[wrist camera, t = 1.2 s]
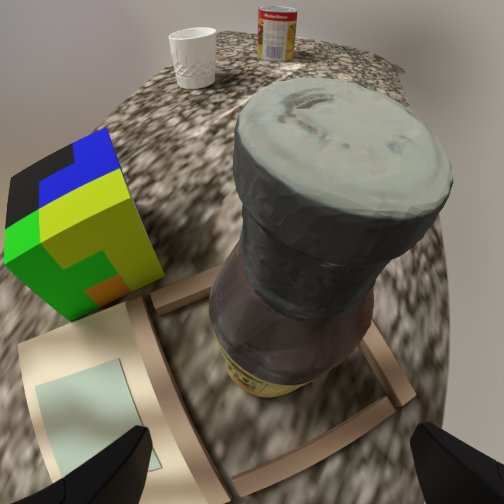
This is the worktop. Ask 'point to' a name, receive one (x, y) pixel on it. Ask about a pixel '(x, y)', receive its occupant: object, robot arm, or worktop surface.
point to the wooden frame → (161, 400)
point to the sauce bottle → (318, 225)
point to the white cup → (194, 57)
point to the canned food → (276, 33)
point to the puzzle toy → (77, 229)
